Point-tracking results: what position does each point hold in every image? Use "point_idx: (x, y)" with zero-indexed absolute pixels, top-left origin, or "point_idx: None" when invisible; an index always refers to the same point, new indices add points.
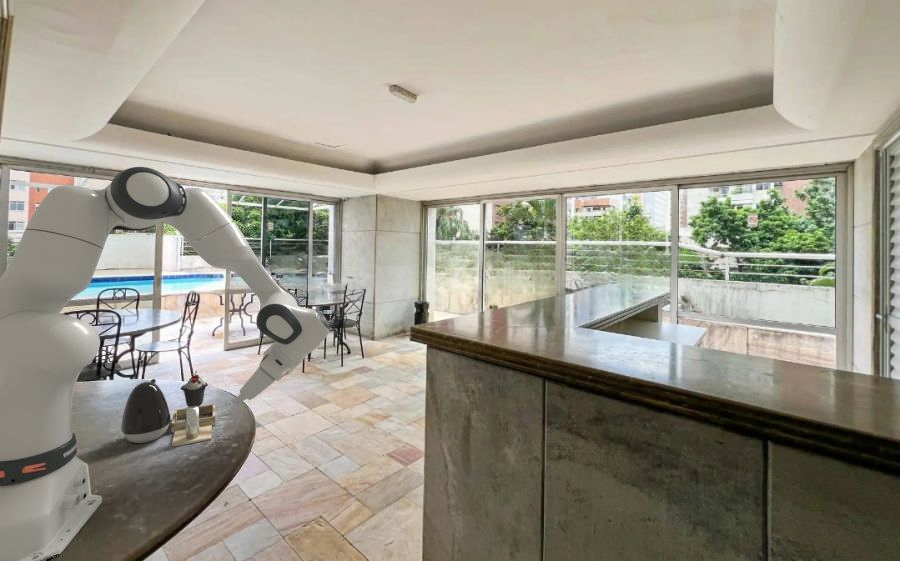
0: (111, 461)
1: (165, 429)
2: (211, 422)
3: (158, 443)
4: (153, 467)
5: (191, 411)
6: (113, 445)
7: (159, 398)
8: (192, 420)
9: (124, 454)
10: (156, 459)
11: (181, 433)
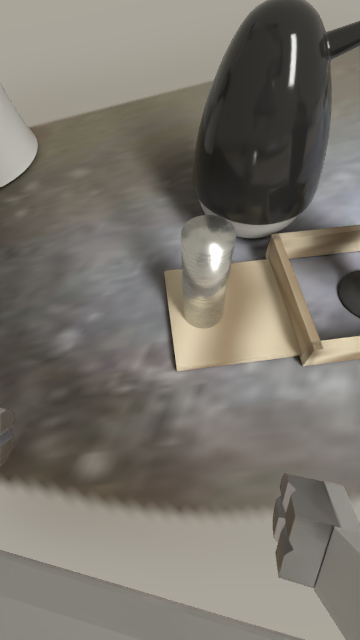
0: (139, 187)
1: (239, 230)
2: (302, 348)
3: None
4: (59, 262)
5: (182, 240)
6: None
7: (250, 109)
8: (183, 271)
9: (165, 198)
10: (103, 258)
11: (241, 278)
